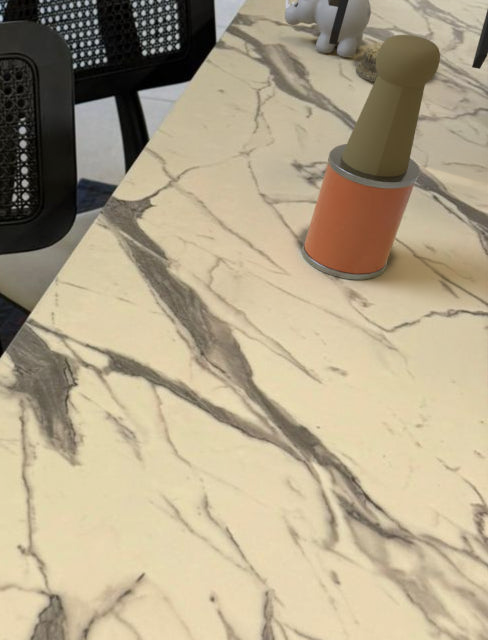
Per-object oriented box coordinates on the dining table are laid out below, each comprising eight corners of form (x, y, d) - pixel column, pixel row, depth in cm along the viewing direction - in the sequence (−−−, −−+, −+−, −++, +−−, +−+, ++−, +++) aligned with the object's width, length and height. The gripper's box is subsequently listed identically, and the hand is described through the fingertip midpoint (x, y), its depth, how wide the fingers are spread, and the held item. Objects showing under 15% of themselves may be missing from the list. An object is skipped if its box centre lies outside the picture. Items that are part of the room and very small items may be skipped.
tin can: (394, 253, 102) (428, 158, 96) (373, 289, 97) (408, 191, 90) (315, 229, 105) (343, 135, 98) (290, 262, 99) (318, 165, 93)
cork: (352, 141, 97) (389, 22, 90) (415, 160, 95) (458, 38, 88) (333, 163, 93) (369, 39, 86) (398, 183, 91) (441, 57, 84)
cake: (351, 86, 138) (360, 45, 134) (357, 63, 145) (365, 23, 141) (429, 94, 135) (440, 52, 132) (431, 71, 142) (441, 30, 139)
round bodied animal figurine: (285, 30, 151) (299, -32, 146) (364, 49, 148) (383, -14, 142) (270, 43, 147) (285, -20, 141) (352, 63, 143) (370, -1, 137)
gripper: (588, -123, 99) (530, 89, 99) (328, -156, 104) (274, 45, 104) (617, -175, 92) (555, 53, 92) (336, -208, 97) (278, 9, 97)
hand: (405, 50), depth 98 cm, fingers open, 13 cm apart
